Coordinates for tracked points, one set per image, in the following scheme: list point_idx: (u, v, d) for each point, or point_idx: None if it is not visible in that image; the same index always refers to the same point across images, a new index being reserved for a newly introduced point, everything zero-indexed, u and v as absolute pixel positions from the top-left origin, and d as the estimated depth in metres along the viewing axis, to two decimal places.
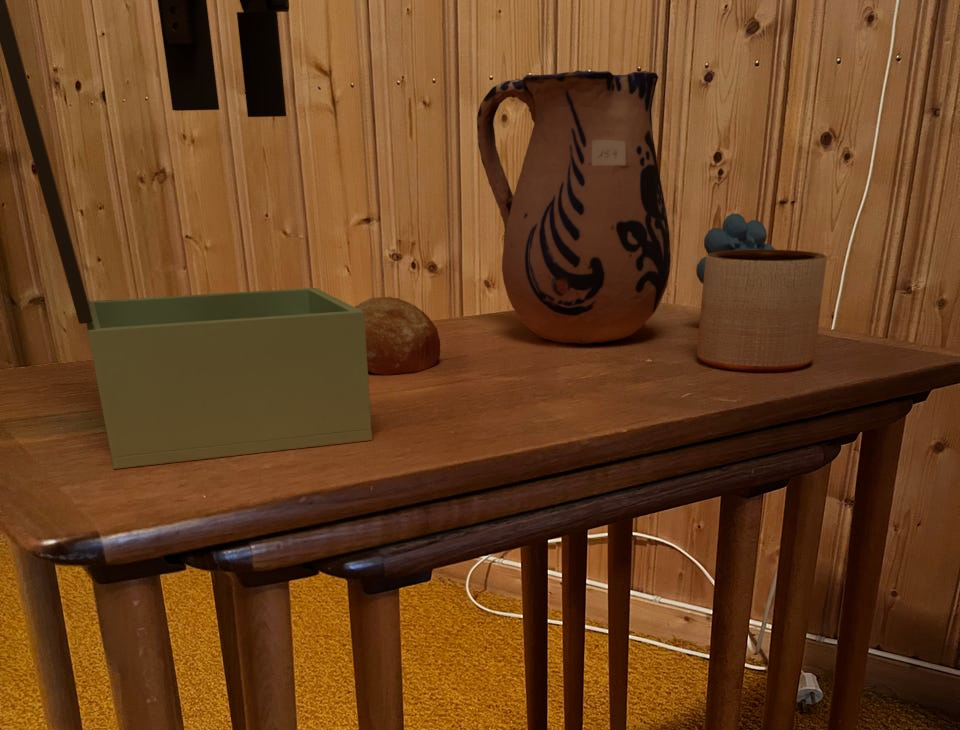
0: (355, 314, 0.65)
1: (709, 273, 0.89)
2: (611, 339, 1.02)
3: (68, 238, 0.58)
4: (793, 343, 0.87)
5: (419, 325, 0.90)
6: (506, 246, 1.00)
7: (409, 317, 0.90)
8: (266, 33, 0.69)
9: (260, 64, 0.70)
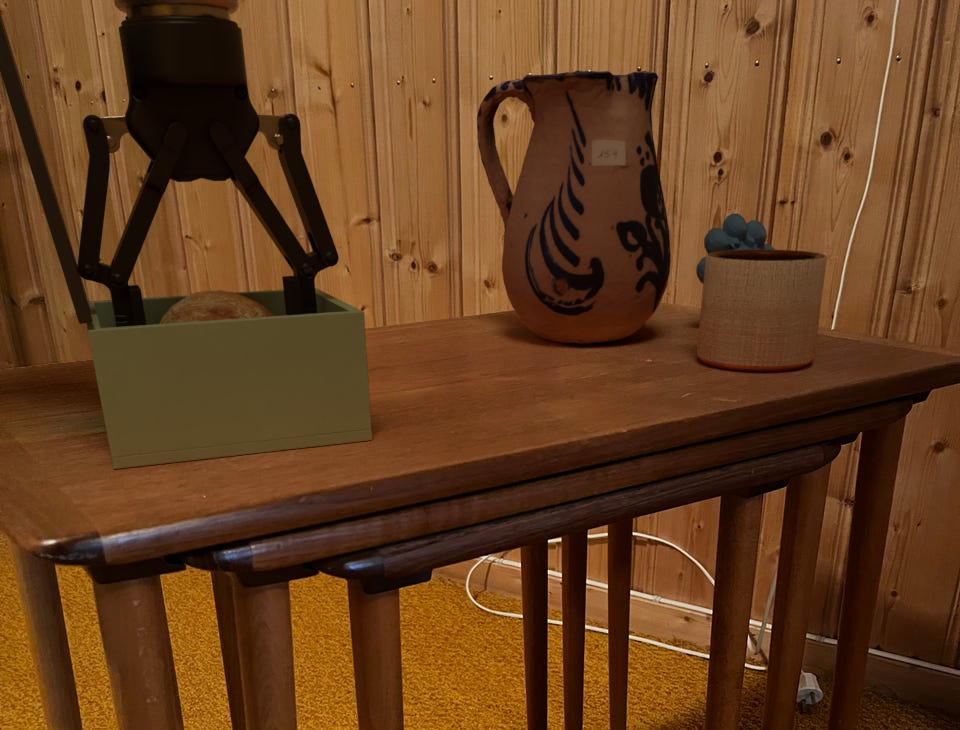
0: (355, 314, 0.65)
1: (709, 273, 0.88)
2: (611, 339, 1.02)
3: (65, 238, 0.58)
4: (793, 343, 0.87)
5: None
6: (506, 246, 1.00)
7: None
8: (289, 298, 0.70)
9: None
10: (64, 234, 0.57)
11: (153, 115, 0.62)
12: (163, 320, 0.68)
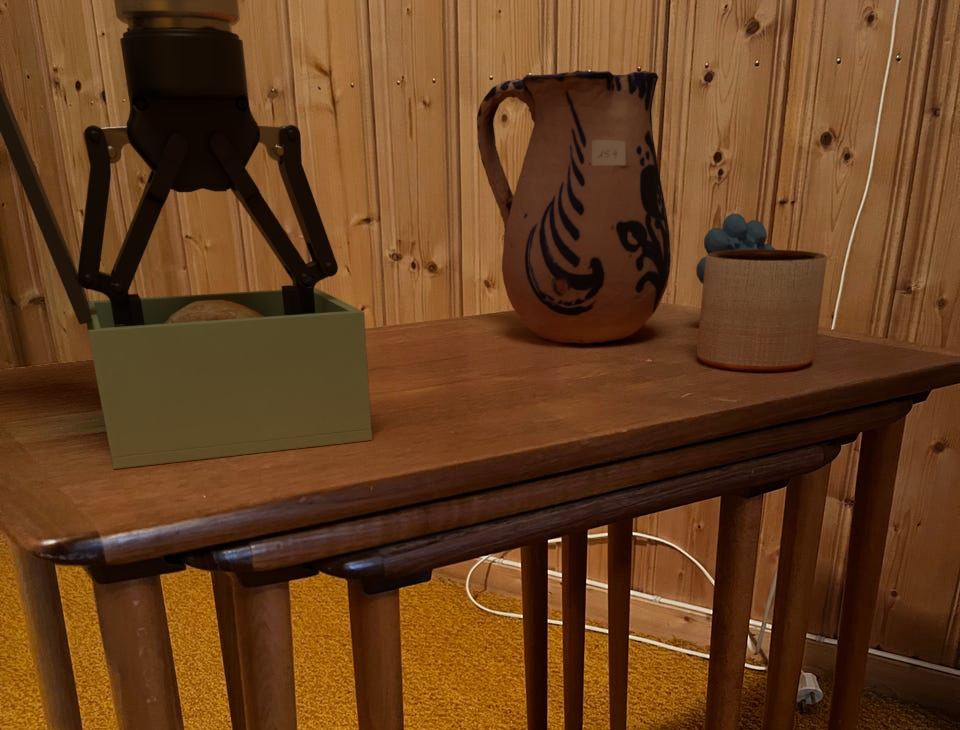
0: (355, 314, 0.65)
1: (709, 273, 0.88)
2: (611, 339, 1.02)
3: (58, 239, 0.57)
4: (793, 343, 0.87)
5: None
6: (506, 246, 1.00)
7: None
8: (288, 308, 0.70)
9: None
10: (56, 235, 0.57)
11: (154, 126, 0.62)
12: None
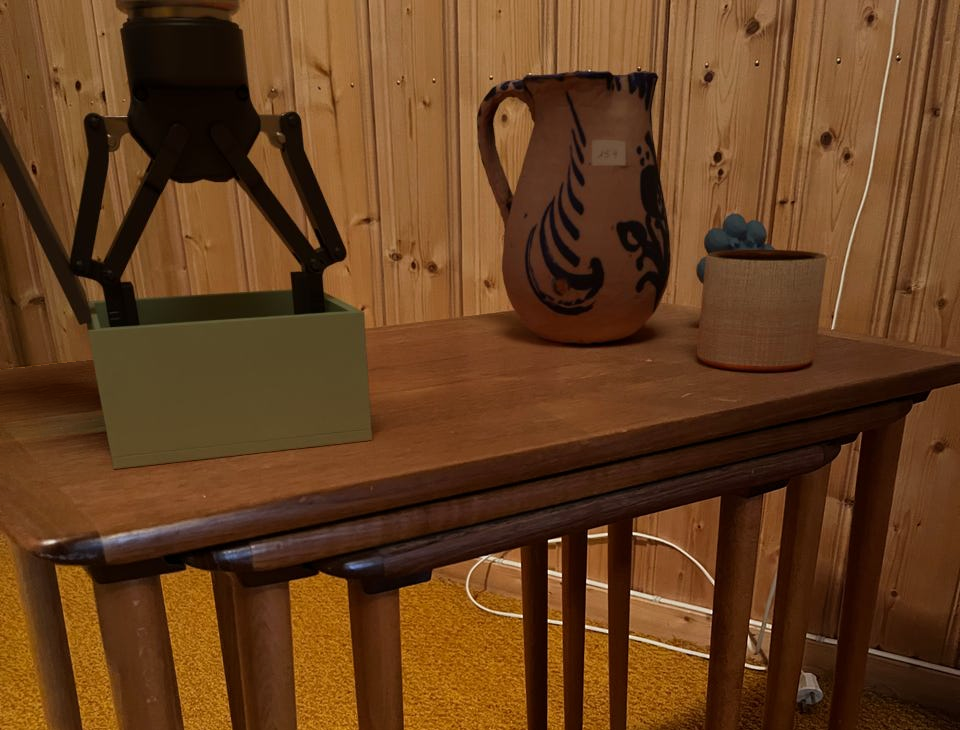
0: (355, 314, 0.65)
1: (709, 273, 0.88)
2: (611, 339, 1.02)
3: (52, 240, 0.57)
4: (793, 343, 0.87)
5: None
6: (506, 246, 1.00)
7: None
8: (297, 294, 0.70)
9: None
10: (50, 236, 0.57)
11: (155, 117, 0.62)
12: None
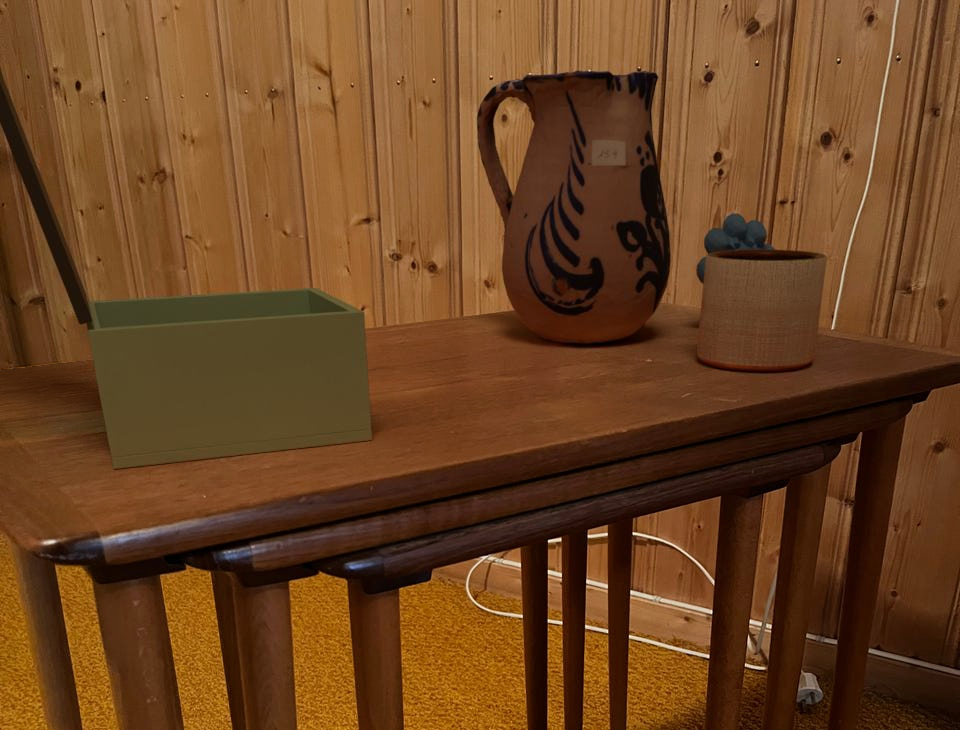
0: (355, 314, 0.65)
1: (709, 273, 0.88)
2: (611, 339, 1.02)
3: (59, 239, 0.57)
4: (793, 343, 0.87)
5: None
6: (506, 246, 1.00)
7: None
8: None
9: None
10: (57, 235, 0.57)
11: None
12: None
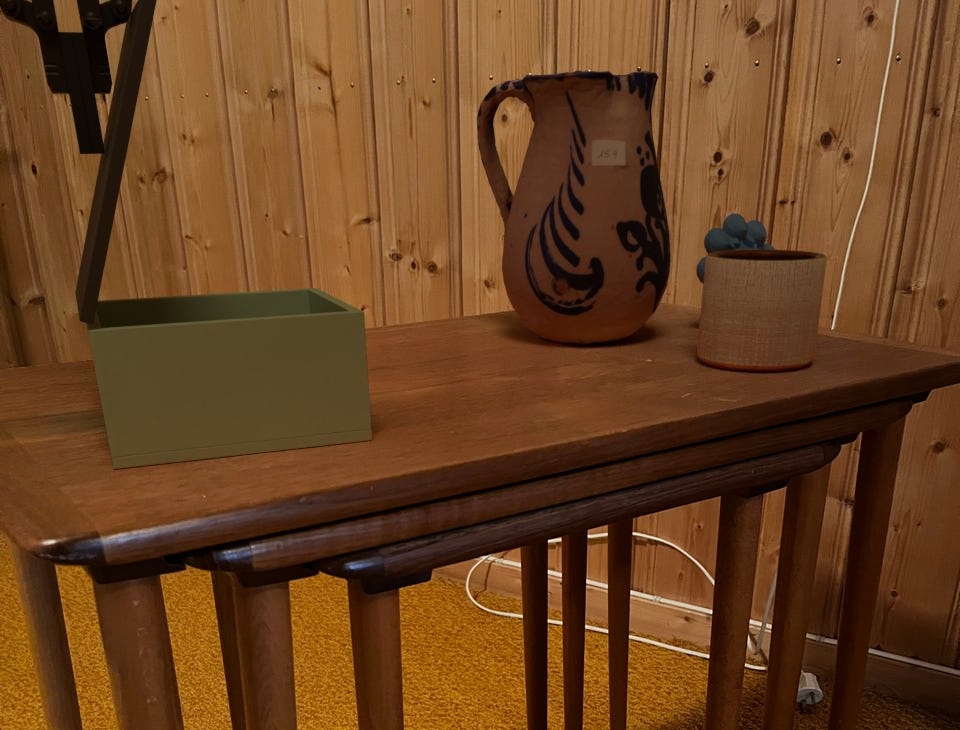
0: (355, 314, 0.65)
1: (709, 273, 0.88)
2: (611, 339, 1.02)
3: (107, 244, 0.58)
4: (793, 343, 0.87)
5: None
6: (506, 246, 1.00)
7: None
8: None
9: None
10: (107, 240, 0.58)
11: None
12: None
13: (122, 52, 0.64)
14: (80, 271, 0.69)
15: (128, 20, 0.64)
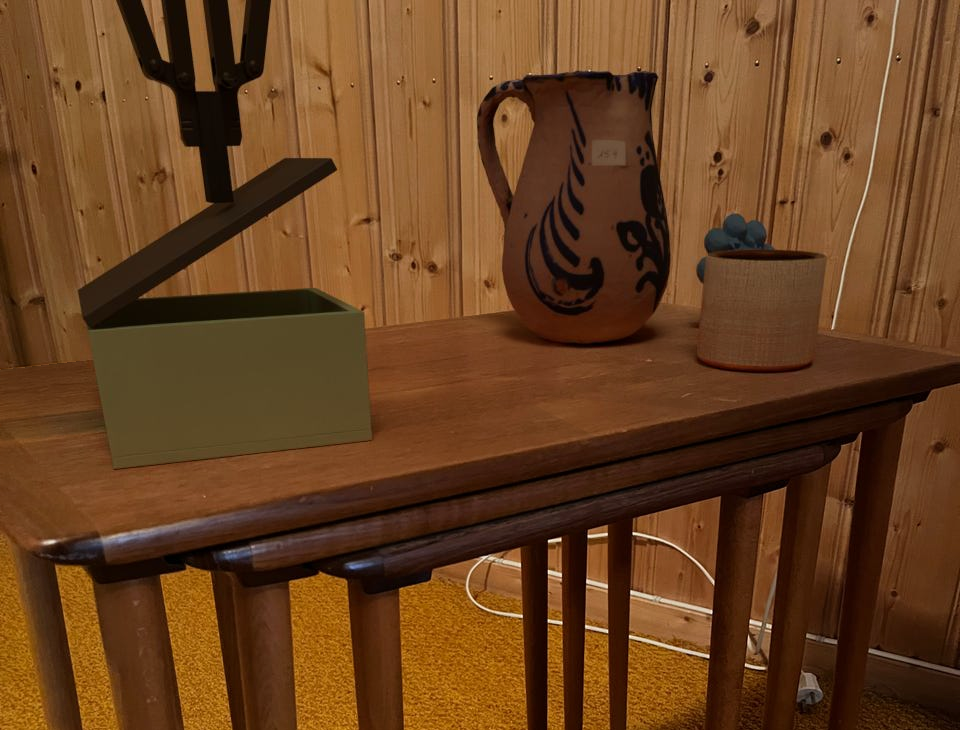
0: (355, 314, 0.65)
1: (709, 273, 0.88)
2: (611, 339, 1.02)
3: (155, 285, 0.60)
4: (793, 343, 0.87)
5: None
6: (506, 246, 1.00)
7: None
8: None
9: None
10: (158, 283, 0.60)
11: None
12: None
13: (268, 174, 0.70)
14: (99, 280, 0.70)
15: (290, 159, 0.70)
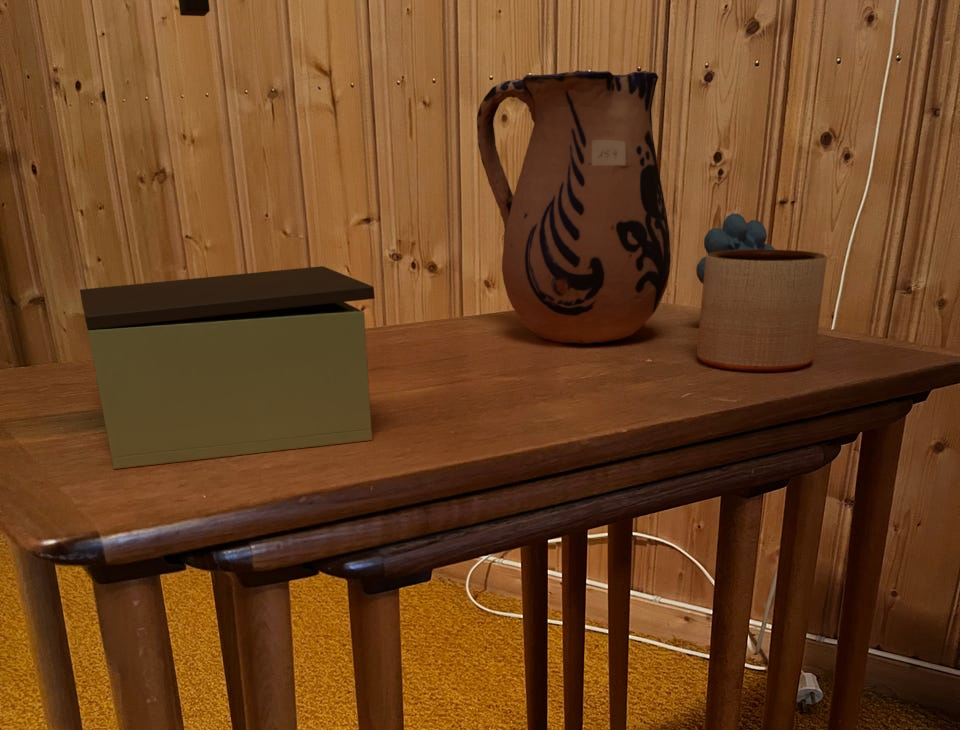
0: (355, 314, 0.65)
1: (709, 273, 0.88)
2: (611, 339, 1.02)
3: (167, 320, 0.61)
4: (793, 343, 0.87)
5: None
6: (506, 246, 1.00)
7: None
8: None
9: None
10: (171, 319, 0.61)
11: None
12: None
13: (304, 272, 0.74)
14: (106, 290, 0.70)
15: (329, 270, 0.74)
